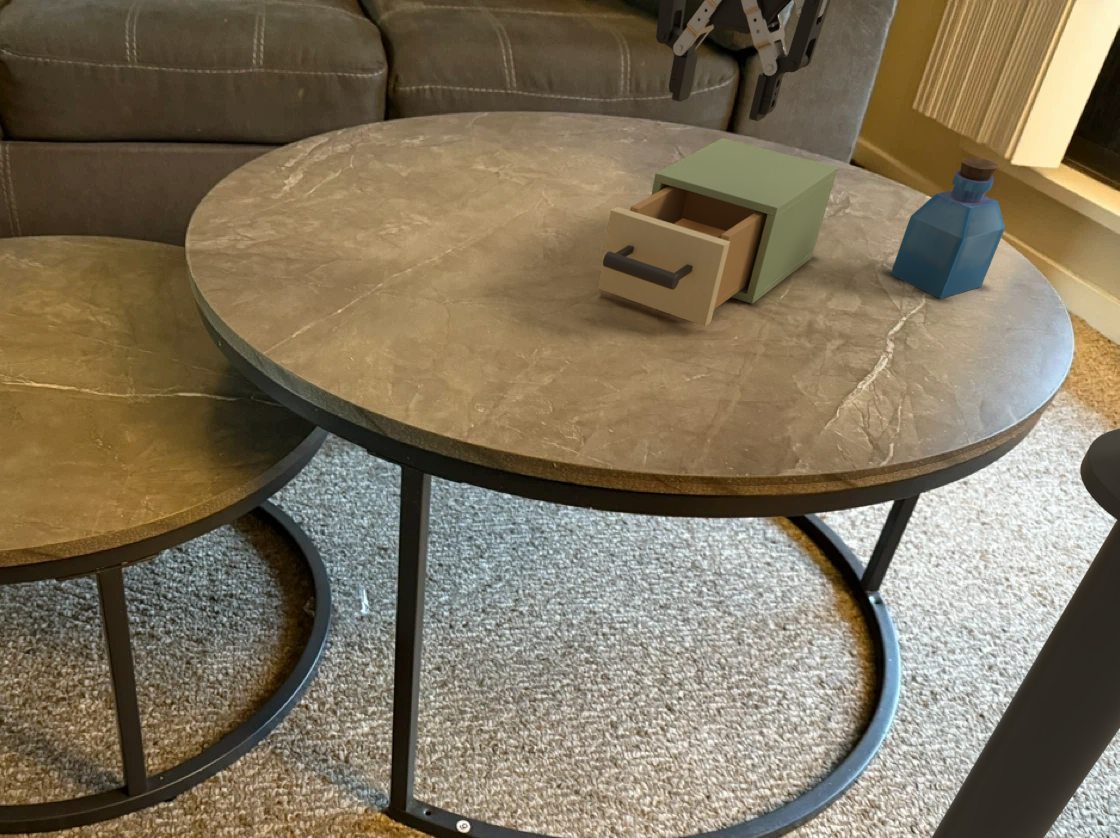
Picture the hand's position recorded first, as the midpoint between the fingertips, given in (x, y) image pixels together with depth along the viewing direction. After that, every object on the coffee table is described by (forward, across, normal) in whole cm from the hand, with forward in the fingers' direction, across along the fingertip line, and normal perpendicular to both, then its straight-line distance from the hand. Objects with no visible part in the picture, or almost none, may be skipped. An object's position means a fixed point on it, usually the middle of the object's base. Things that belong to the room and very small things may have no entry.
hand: (718, 108), depth 92 cm
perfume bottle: (+18, +18, +22) cm, 33 cm away
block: (+16, 0, 0) cm, 16 cm away
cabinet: (+18, 0, +10) cm, 21 cm away
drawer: (+17, 0, -1) cm, 17 cm away
